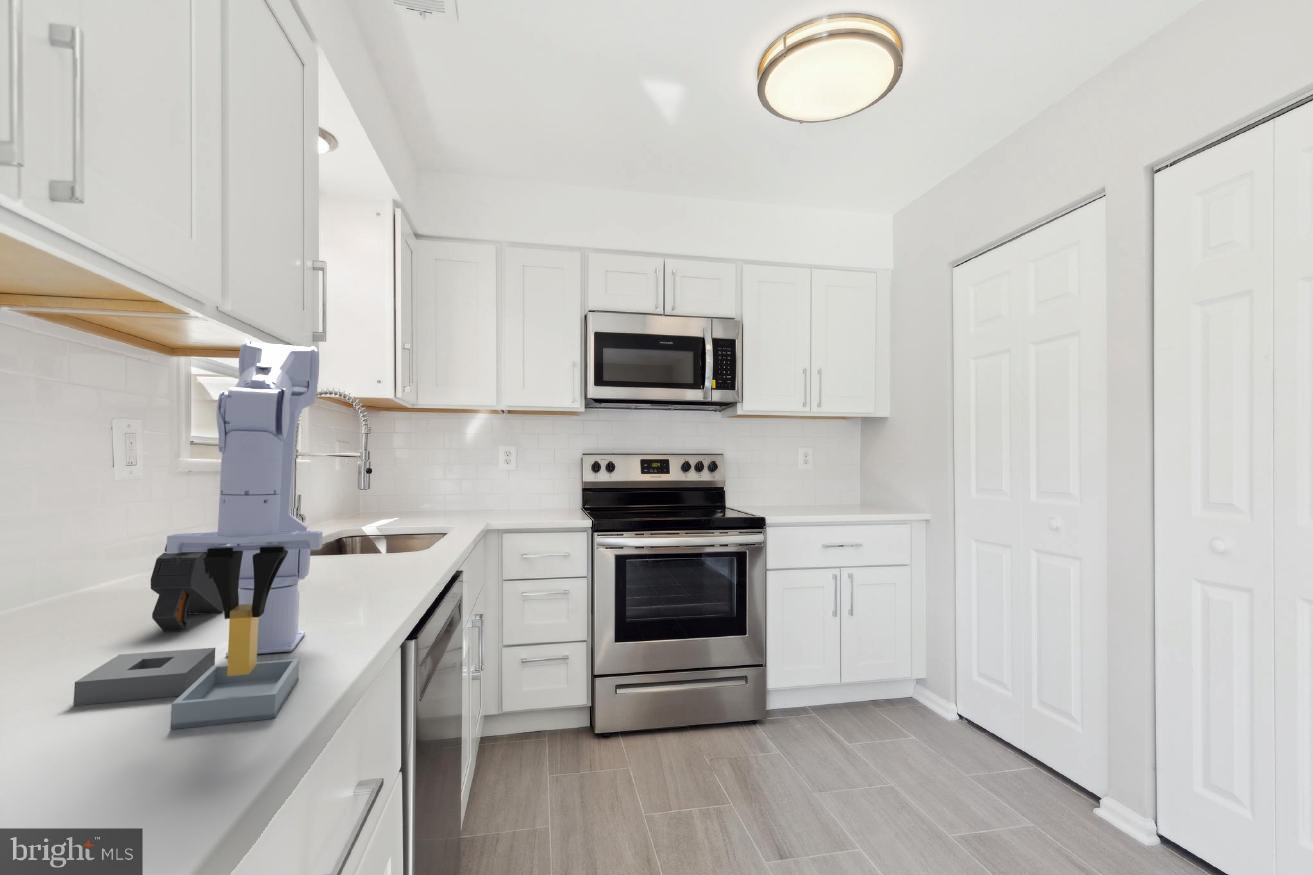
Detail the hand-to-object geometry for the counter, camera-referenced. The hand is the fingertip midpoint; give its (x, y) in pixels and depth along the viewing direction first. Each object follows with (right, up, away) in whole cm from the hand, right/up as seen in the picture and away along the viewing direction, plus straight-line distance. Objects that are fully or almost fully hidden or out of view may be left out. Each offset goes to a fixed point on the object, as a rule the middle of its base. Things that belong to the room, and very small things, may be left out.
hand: (244, 615), depth 68 cm
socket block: (-14, -9, +4) cm, 17 cm away
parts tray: (0, -9, 0) cm, 9 cm away
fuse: (0, -6, 0) cm, 6 cm away
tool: (-31, -11, +33) cm, 46 cm away
